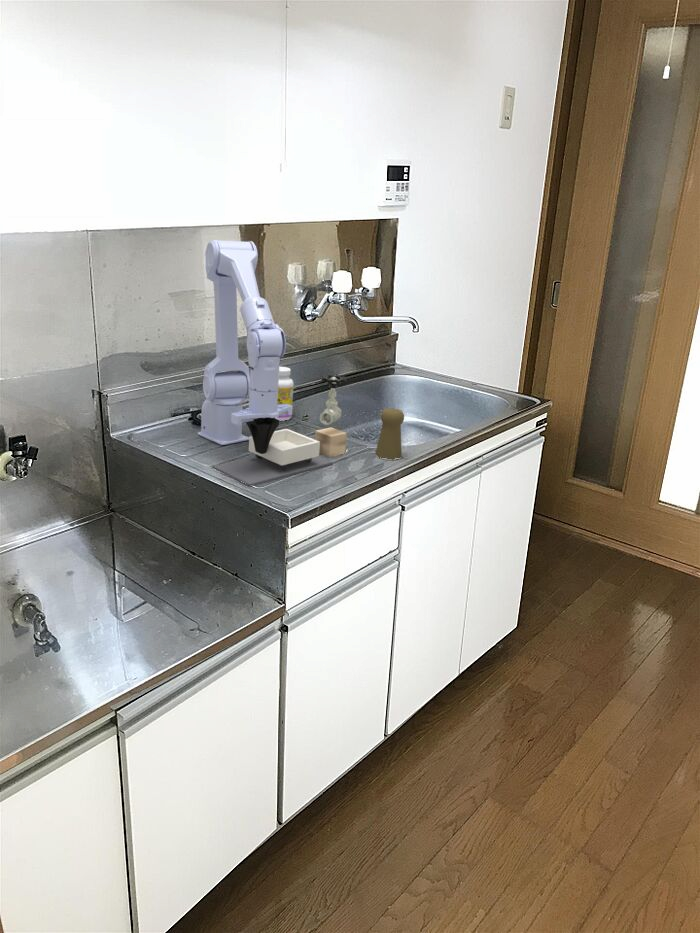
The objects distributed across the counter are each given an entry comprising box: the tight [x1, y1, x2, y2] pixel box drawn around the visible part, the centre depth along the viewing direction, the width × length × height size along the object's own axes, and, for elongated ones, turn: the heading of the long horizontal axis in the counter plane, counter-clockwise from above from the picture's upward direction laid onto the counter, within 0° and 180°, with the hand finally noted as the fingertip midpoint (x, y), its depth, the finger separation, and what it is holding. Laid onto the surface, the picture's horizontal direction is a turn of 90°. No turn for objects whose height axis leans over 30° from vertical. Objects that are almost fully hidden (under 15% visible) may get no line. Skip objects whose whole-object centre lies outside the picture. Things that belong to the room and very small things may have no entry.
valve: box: [319, 373, 347, 427], centre depth 195 cm, size 7×7×12 cm
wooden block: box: [314, 426, 348, 459], centre depth 175 cm, size 5×5×5 cm
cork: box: [375, 407, 405, 459], centre depth 176 cm, size 6×6×11 cm
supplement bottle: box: [275, 366, 294, 422], centre depth 196 cm, size 7×7×13 cm
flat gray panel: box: [212, 455, 333, 487], centre depth 165 cm, size 12×23×1 cm, turn 136°
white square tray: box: [248, 428, 320, 470], centre depth 165 cm, size 11×11×5 cm
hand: (260, 452), depth 161 cm, fingers closed
